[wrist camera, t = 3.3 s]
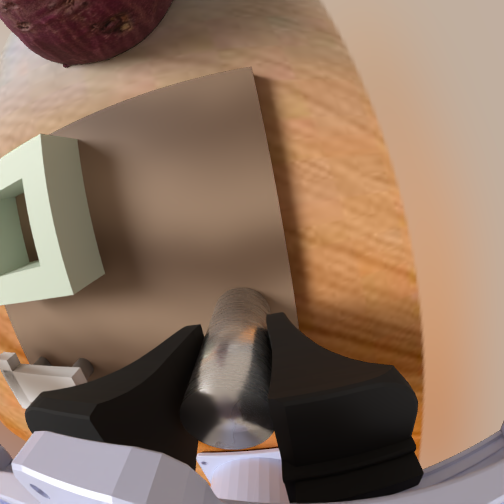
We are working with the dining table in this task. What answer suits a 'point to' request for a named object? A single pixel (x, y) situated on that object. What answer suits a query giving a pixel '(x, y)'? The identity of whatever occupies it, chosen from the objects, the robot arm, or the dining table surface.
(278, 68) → the dining table surface
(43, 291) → the square hollow frame
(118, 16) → the vegetable
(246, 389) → the pin
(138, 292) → the board
